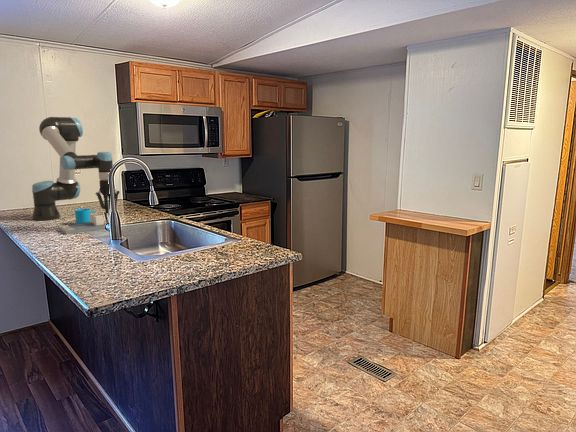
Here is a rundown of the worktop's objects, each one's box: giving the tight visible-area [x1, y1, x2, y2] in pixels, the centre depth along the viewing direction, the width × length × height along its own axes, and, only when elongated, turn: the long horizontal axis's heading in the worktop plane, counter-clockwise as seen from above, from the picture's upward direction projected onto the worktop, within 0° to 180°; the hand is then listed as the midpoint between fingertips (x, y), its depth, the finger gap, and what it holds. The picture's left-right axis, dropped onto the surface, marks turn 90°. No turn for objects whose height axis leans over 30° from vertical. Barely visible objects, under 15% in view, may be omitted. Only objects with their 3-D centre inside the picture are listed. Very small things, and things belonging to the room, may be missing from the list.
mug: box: [74, 208, 97, 224], centre depth 245 cm, size 12×8×8 cm
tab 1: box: [89, 212, 100, 223], centre depth 235 cm, size 4×4×5 cm
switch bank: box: [57, 220, 107, 236], centre depth 229 cm, size 14×26×2 cm, turn 134°
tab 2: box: [93, 214, 105, 226], centre depth 229 cm, size 4×4×5 cm
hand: (109, 220), depth 233 cm, fingers closed
